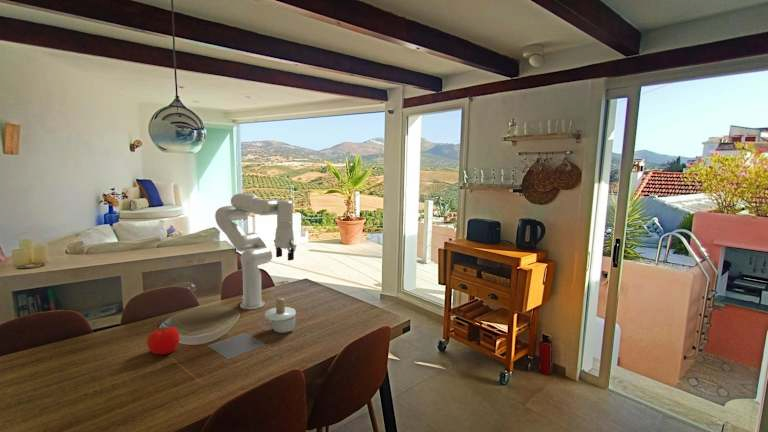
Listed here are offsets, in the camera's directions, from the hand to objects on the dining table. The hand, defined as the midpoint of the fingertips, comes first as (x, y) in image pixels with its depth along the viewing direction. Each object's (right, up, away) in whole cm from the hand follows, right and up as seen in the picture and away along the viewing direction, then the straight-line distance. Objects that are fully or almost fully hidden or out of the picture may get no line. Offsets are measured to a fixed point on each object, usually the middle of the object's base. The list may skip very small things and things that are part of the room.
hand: (284, 258), depth 187 cm
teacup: (+2, -33, -14) cm, 36 cm away
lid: (+2, -25, -16) cm, 29 cm away
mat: (-12, -34, -31) cm, 47 cm away
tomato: (-39, -34, -37) cm, 64 cm away
